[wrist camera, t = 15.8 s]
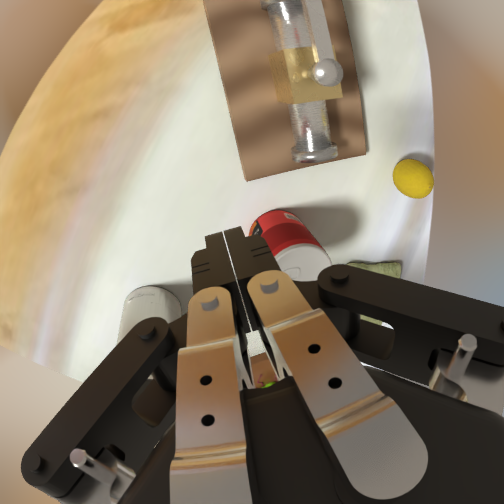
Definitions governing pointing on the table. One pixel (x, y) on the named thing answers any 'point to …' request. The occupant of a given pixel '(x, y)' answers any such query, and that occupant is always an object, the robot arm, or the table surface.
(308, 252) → the canned food
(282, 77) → the valve body
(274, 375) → the plant
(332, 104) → the walnut board
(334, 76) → the valve lever
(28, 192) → the table surface
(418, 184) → the lemon
